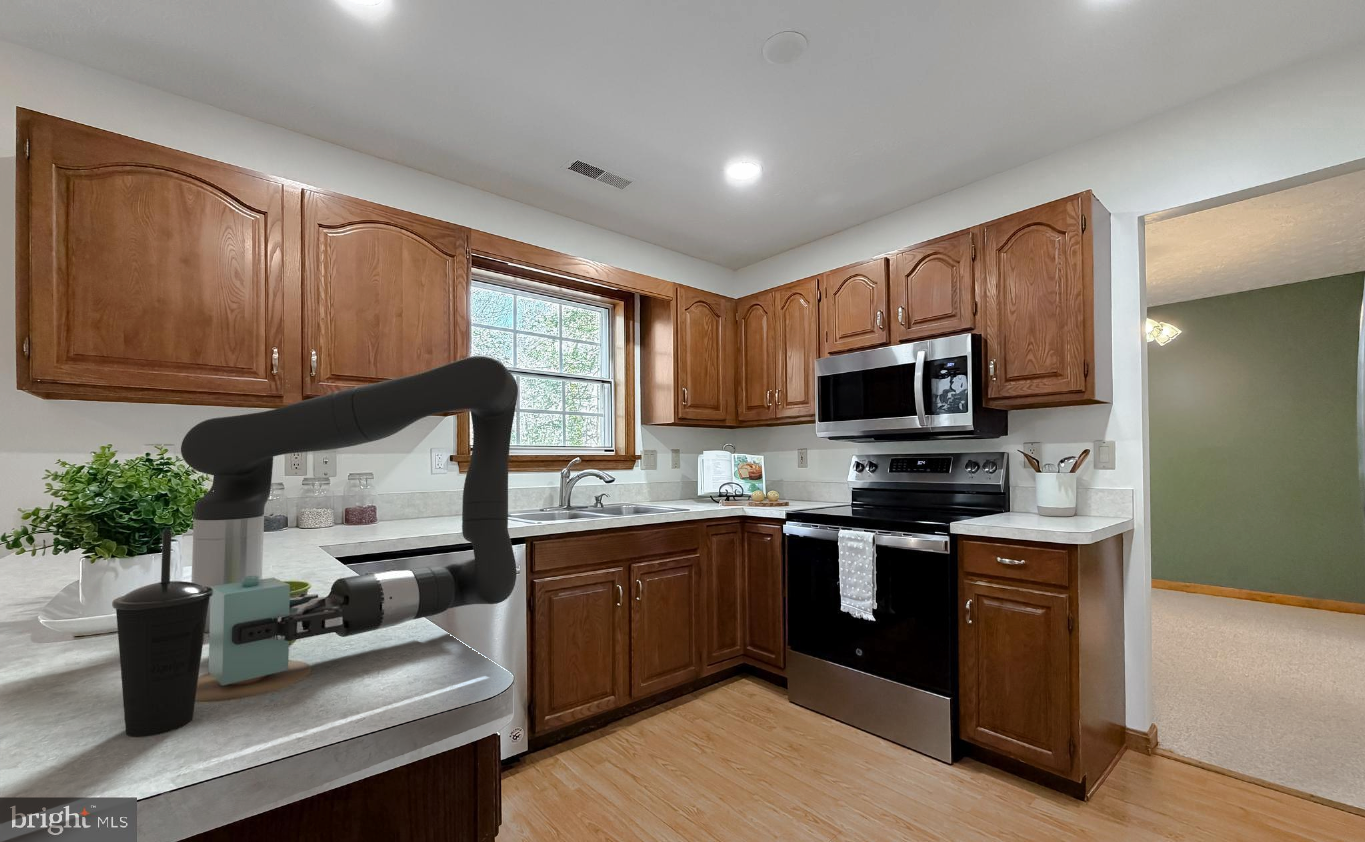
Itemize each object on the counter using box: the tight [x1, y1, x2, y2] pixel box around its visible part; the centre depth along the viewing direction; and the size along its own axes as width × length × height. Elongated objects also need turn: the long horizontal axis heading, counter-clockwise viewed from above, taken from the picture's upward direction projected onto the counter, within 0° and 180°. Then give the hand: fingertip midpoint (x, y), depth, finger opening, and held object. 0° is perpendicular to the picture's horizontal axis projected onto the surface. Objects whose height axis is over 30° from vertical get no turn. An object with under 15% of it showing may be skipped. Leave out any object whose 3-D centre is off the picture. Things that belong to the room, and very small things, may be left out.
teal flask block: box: [208, 576, 290, 686], centre depth 72 cm, size 6×6×11 cm
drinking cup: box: [111, 529, 213, 738], centre depth 60 cm, size 8×8×20 cm
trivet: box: [195, 659, 312, 703], centre depth 72 cm, size 13×13×1 cm
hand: (225, 629), depth 70 cm, fingers closed on teal flask block, 6 cm apart
